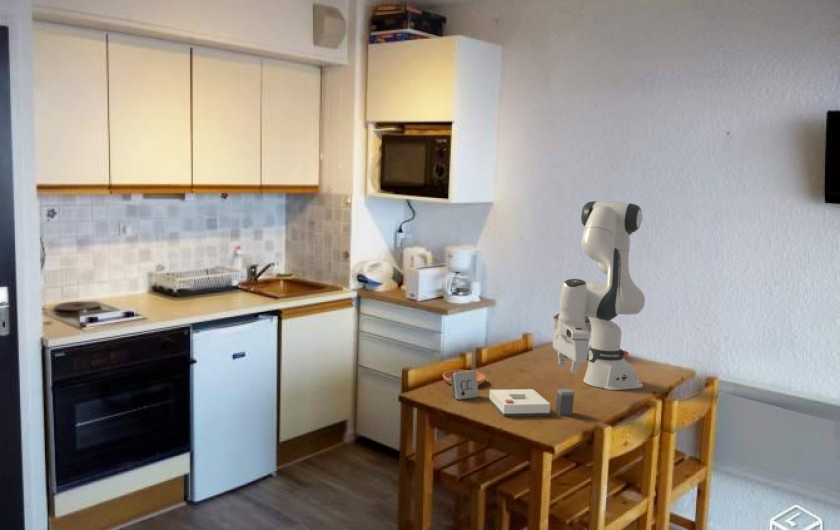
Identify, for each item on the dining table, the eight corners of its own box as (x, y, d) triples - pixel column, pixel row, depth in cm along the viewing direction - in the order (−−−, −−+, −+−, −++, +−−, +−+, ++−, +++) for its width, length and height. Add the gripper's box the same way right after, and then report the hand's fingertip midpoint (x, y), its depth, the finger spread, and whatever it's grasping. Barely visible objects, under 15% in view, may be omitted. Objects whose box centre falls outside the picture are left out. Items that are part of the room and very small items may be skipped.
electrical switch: (456, 400, 253) (457, 374, 253) (448, 397, 257) (448, 371, 257) (478, 397, 258) (479, 371, 257) (470, 394, 262) (470, 369, 262)
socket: (532, 400, 258) (533, 387, 257) (549, 415, 242) (550, 402, 242) (488, 400, 255) (489, 388, 254) (503, 416, 239) (504, 403, 238)
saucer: (435, 384, 272) (435, 376, 271) (453, 374, 286) (454, 367, 285) (474, 392, 265) (475, 384, 264) (491, 381, 279) (492, 374, 278)
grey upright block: (567, 411, 248) (569, 388, 247) (572, 415, 244) (574, 392, 243) (555, 411, 247) (557, 388, 246) (559, 415, 244) (561, 392, 242)
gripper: (550, 321, 251) (546, 361, 253) (574, 335, 231) (570, 377, 233) (567, 322, 253) (563, 361, 254) (593, 335, 233) (589, 377, 234)
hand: (567, 369), depth 243 cm, fingers open, 8 cm apart
